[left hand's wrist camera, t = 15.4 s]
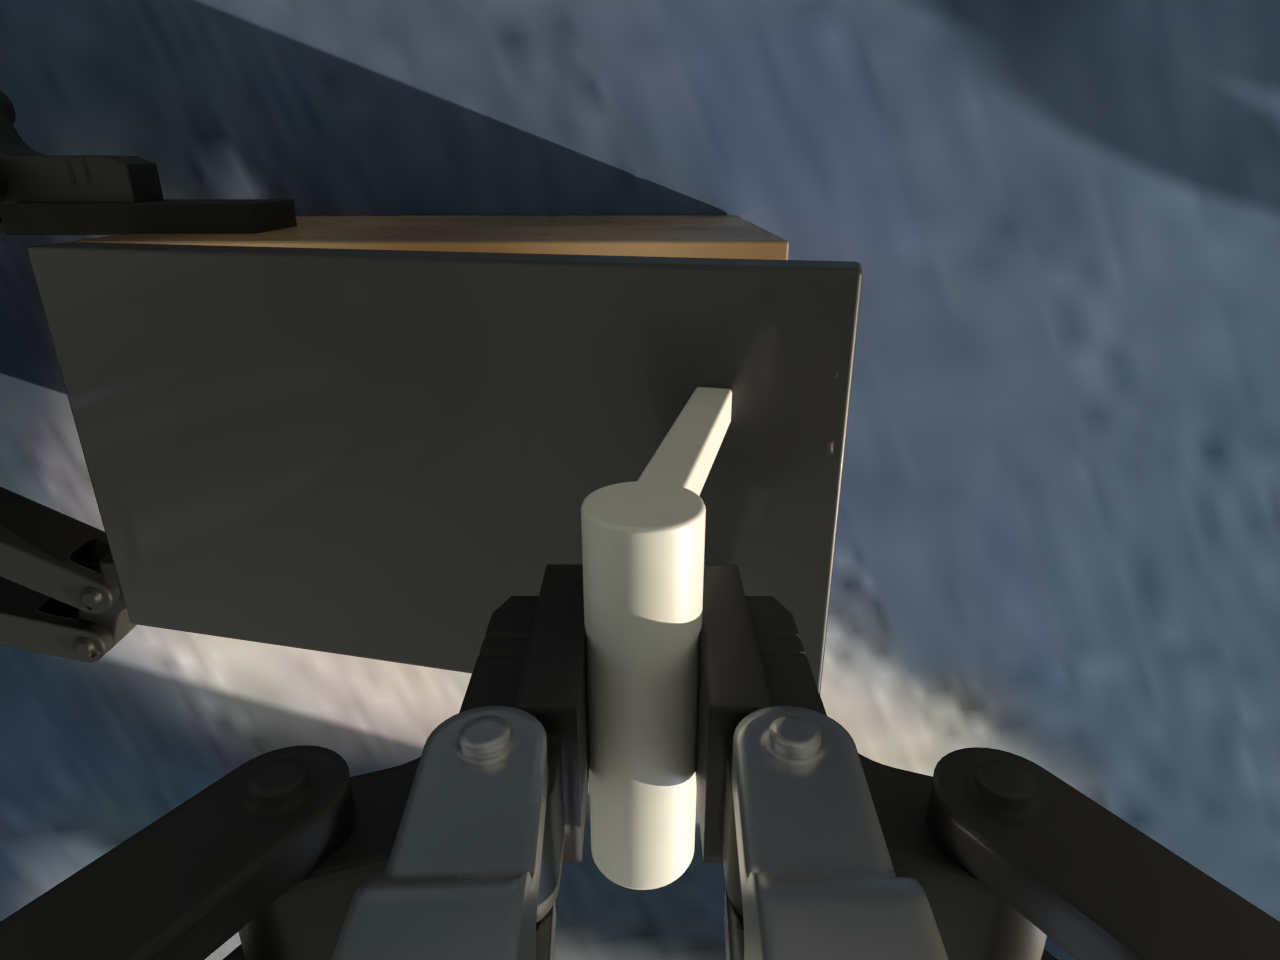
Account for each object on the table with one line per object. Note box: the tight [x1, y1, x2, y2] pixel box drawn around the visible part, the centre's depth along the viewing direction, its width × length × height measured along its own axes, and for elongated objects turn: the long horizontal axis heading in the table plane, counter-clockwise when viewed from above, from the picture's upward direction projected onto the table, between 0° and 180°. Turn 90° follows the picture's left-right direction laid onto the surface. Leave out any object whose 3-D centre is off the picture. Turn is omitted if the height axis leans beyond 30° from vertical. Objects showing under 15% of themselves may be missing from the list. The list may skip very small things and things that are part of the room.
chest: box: [75, 215, 789, 260], centre depth 25 cm, size 17×10×10 cm, turn 90°
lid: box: [28, 242, 863, 890], centre depth 15 cm, size 18×10×8 cm, turn 90°
